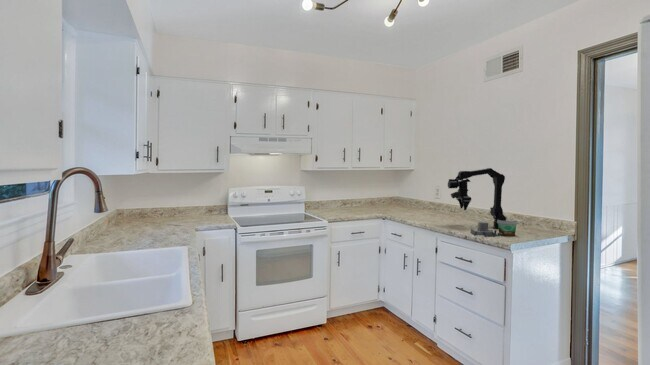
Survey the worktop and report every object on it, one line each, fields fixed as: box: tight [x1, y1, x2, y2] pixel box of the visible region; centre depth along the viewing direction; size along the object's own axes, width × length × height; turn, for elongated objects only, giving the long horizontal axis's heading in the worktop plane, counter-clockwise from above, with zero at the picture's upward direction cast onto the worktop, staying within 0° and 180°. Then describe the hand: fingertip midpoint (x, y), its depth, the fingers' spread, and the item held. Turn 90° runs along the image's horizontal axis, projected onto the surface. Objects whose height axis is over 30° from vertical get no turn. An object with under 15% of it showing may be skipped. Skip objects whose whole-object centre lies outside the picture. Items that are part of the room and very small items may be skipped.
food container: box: [497, 219, 519, 237], centre depth 204 cm, size 12×6×10 cm, turn 80°
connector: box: [477, 221, 489, 231], centre depth 220 cm, size 5×5×6 cm
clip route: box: [481, 229, 501, 238], centre depth 206 cm, size 11×11×2 cm
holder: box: [470, 228, 494, 236], centre depth 210 cm, size 11×10×2 cm
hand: (463, 209), depth 230 cm, fingers open, 9 cm apart
